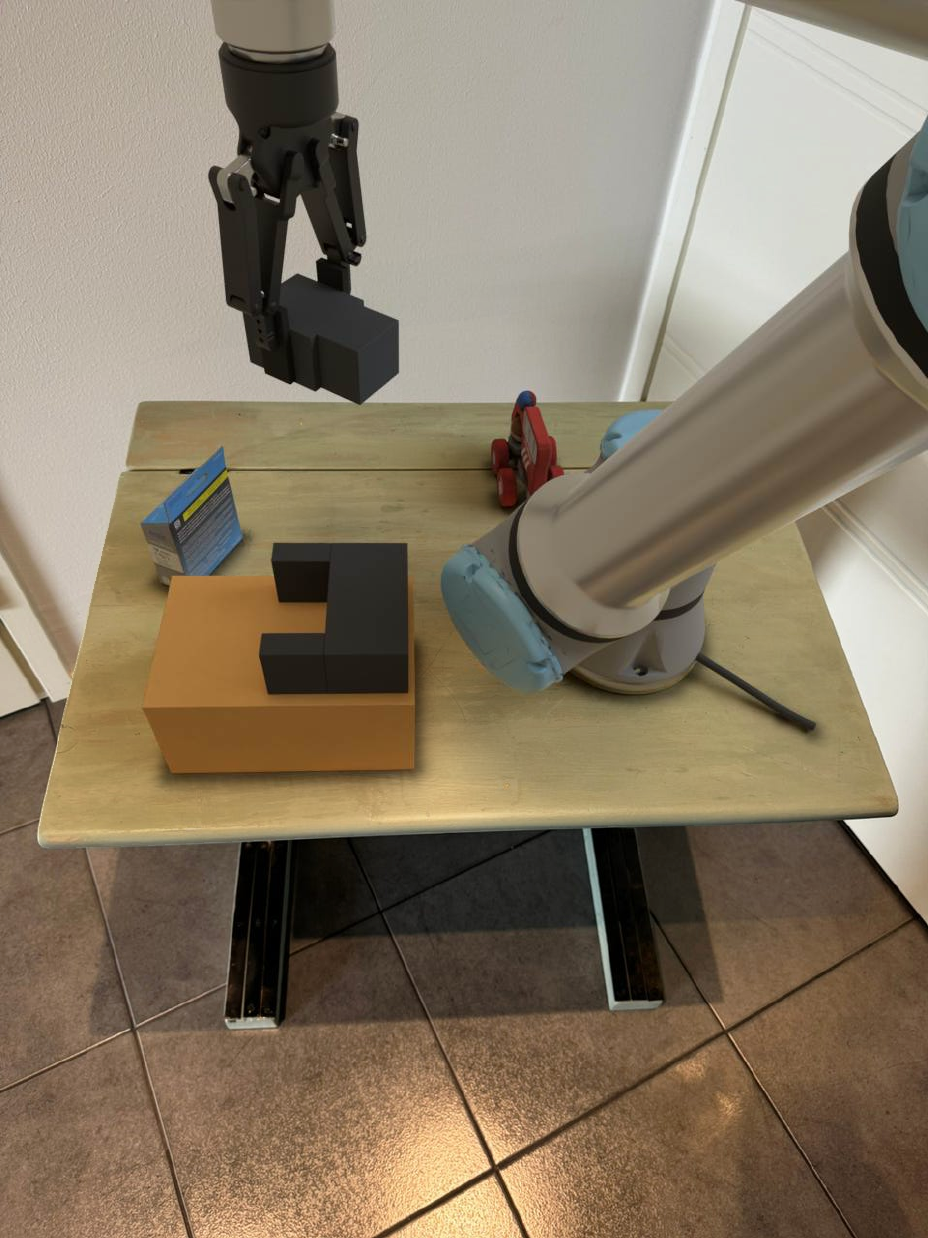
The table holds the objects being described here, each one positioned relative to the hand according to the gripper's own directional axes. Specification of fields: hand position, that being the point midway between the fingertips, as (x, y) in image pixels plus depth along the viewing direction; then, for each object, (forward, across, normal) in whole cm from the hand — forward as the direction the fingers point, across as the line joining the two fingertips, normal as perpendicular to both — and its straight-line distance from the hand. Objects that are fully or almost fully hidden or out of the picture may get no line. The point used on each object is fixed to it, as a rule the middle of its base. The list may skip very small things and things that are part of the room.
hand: (309, 354), depth 71 cm
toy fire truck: (+21, -18, +14) cm, 31 cm away
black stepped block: (0, 0, +2) cm, 2 cm away
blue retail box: (+21, +11, -8) cm, 25 cm away
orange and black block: (+21, +19, +11) cm, 30 cm away
